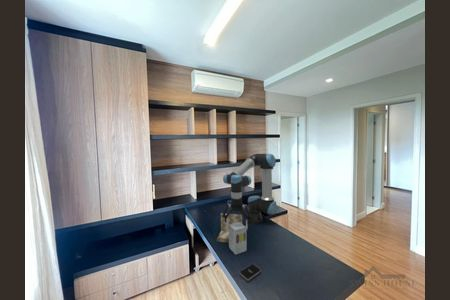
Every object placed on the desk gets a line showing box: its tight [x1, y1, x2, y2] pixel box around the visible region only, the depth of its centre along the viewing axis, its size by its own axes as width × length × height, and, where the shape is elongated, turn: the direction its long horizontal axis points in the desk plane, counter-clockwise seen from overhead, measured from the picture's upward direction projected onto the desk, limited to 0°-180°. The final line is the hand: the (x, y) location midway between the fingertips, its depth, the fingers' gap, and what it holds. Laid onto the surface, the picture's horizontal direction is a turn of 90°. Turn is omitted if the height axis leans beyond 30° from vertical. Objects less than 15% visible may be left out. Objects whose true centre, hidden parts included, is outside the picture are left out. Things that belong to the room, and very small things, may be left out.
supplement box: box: [228, 222, 248, 255], centre depth 117 cm, size 10×9×17 cm
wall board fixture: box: [216, 213, 243, 243], centre depth 133 cm, size 18×16×15 cm
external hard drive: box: [239, 263, 262, 283], centre depth 95 cm, size 7×11×2 cm, turn 127°
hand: (237, 227), depth 117 cm, fingers open, 13 cm apart
